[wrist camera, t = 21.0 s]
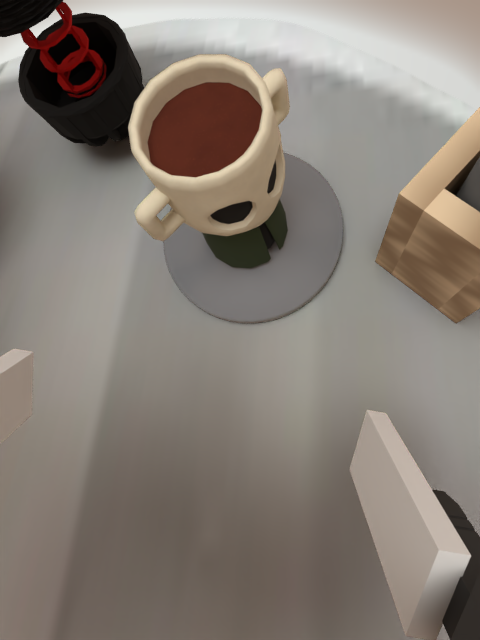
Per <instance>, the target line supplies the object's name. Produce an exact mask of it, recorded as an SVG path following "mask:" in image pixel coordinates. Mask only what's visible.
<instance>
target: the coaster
mask: <svg viewBox="0 0 480 640" xmlns="http://www.w3.org/2000/svg"><path fill="white" fill-rule="evenodd" d="M283 154H284V159H285V180H284V185H283V190H282V195H281V197H280V201H281V203H282V205H283V208H284V211H285V213H286V220H287V227H288V232H287V235H286V238H285V241H284V244H283V247H282V248H281V249H280V250H279V248H278V246H277V244H276V242H275V241H274V243H273V245H272V246H271V248H269V249H268V252H269V254H270V257H271V259H270V260H269V261H268V262H267V263H264V264H261V265H259V266H256V267H253V268H235V267H231V266H229V265H228V264H226V263H224V262H222V261H221V260H219V259H217V258H216V257H215V255H214V254H213V252H212V251H211V249H210V248H209V246H208V244H207V243H206V240H205V238H204V236H203V234H202V232H200V231H198V230H196V229H194V228H192V227H190V226H189V225H187V224H185V223H182V225H181V226H180V227H179V228H178V229H177V230H176V231H175V232H174V233H173V234H172V235H171V236H170V237H169V238H167V239H166V240H164V253H165V259H166V263H167V266H168V269H169V272H170V274H171V276H172V278H173V280H174V282H175V283H176V285H177V286H178V288H179V289H180V290H181V291H182V293H183V294H184V295H185V296H186V297H187V298H188V299H189V300H191V301H192V302H193V303H194V304H195V305H197V306H198V307H199V308H200V309H202V310H204V311H205V312H207V313H208V314H210V315H213V316H215V317H217V318H219V319H223V320H226V321H230V322H236V323H253V324H254V323H262V322H268V321H272V320H276V319H279V318H282V317H284V316H287V315H289V314H291V313H293V312H295V311H297V310H298V309H300V308H301V307H303V306H304V305H306V304H307V303H308V302H310V301H311V300H312V299H313V298H314V297H315V296H316V295H317V294H318V293H319V292H320V291H321V290H322V288H323V287H324V286H325V285H326V283H327V282H328V280H329V279H330V277H331V275H332V274H333V272H334V269H335V267H336V265H337V262H338V259H339V256H340V252H341V246H342V238H343V219H342V212H341V208H340V205H339V202H338V199H337V197H336V195H335V193H334V191H333V189H332V187H331V186H330V184H329V183H328V181H327V180H326V179H325V178H324V177H323V176H322V175H321V174H320V172H318V171H317V170H316V169H315V168H314V167H312V166H311V165H309V164H308V163H306V162H305V161H303V160H301V159H299V158H297V157H294V156H292V155H289V154H286V153H283ZM171 210H172V208H171V209H170V211H171Z"/></svg>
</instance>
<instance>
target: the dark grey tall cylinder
mask: <svg viewBox="0 0 480 640" xmlns="http://www.w3.org/2000/svg"><path fill="white" fill-rule="evenodd" d="M456 197H458V198H459V199H461V200H462V201H464V202H465V203H467V204H468V205H470V206H471V207H473V208H474V209H476V210H477V211H479V212H480V157H479V159H478V160H477V162H476V164H475V165H474V167H473V168H472V170H471V172H470V173H469V175H468V176H467V178H466V180H465V181H464V183H463V185H462V186H461V188H460V189H459V191H458V193H457V194H456Z"/></svg>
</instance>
